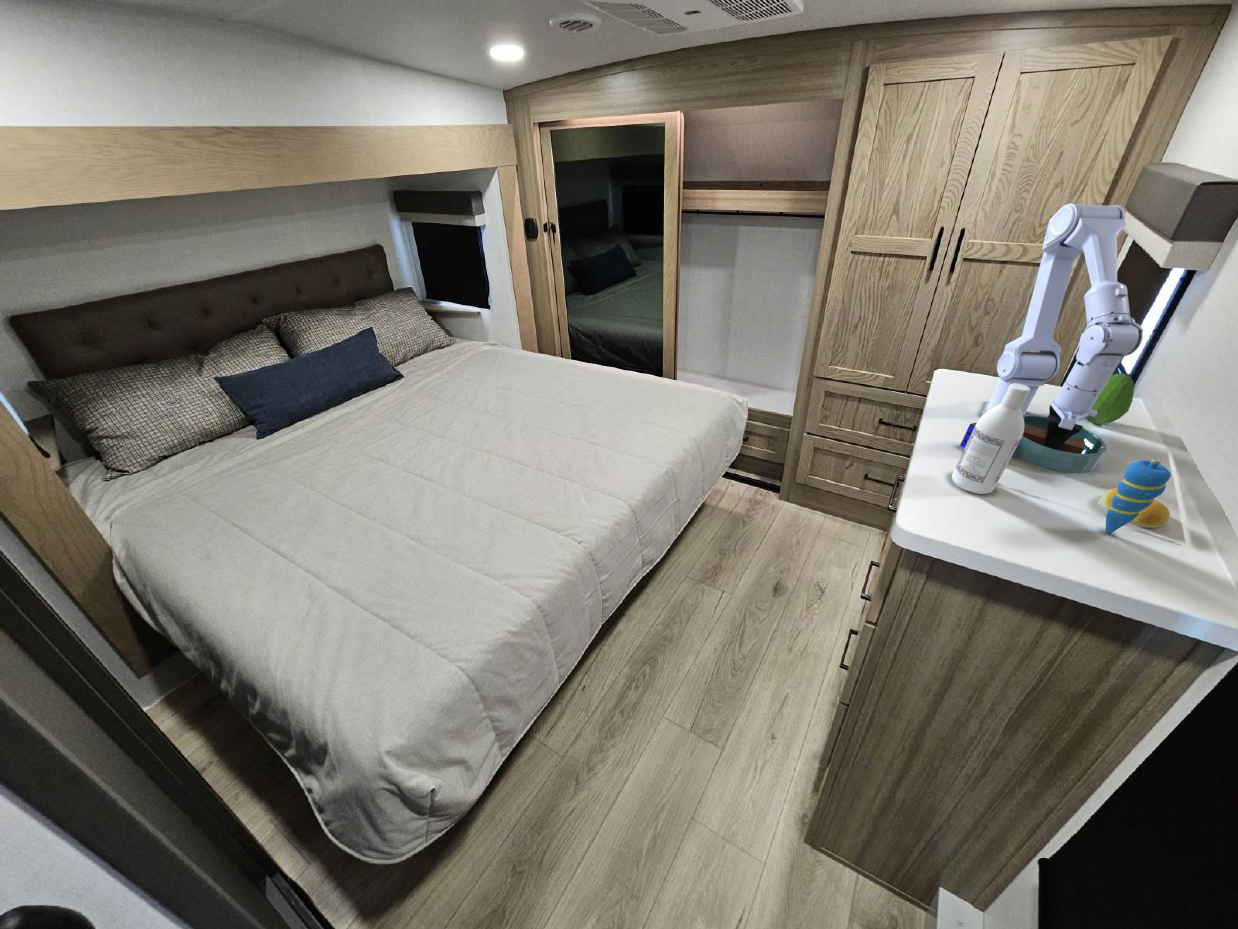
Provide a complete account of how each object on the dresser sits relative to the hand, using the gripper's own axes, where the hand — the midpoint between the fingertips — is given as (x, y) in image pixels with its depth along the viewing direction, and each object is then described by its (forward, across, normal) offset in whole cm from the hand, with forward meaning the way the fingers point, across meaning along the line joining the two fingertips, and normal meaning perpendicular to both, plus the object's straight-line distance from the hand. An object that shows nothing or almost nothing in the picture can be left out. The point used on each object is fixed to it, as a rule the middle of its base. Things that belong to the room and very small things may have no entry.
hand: (1048, 445), depth 105 cm
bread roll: (+2, -15, -13) cm, 20 cm away
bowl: (+2, 0, 0) cm, 2 cm away
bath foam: (+2, -23, +10) cm, 25 cm away
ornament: (+2, -24, -10) cm, 26 cm away
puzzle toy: (+2, -9, +10) cm, 14 cm away
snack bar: (+1, 0, 0) cm, 1 cm away
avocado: (+2, +24, -8) cm, 25 cm away
